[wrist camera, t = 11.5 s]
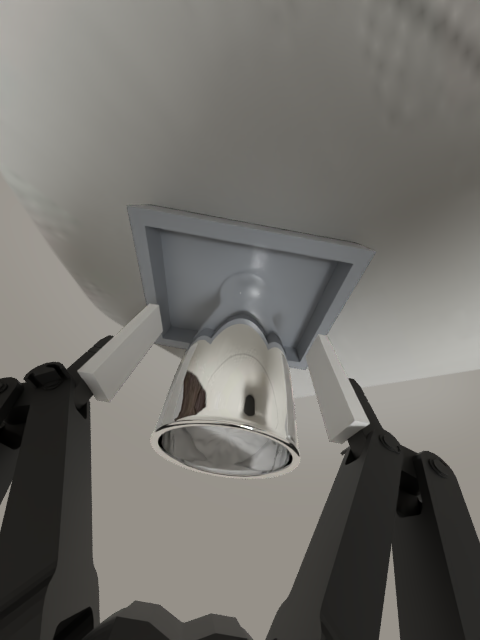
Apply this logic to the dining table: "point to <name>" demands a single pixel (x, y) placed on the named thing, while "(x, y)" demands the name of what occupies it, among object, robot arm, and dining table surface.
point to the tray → (242, 257)
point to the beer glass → (232, 392)
